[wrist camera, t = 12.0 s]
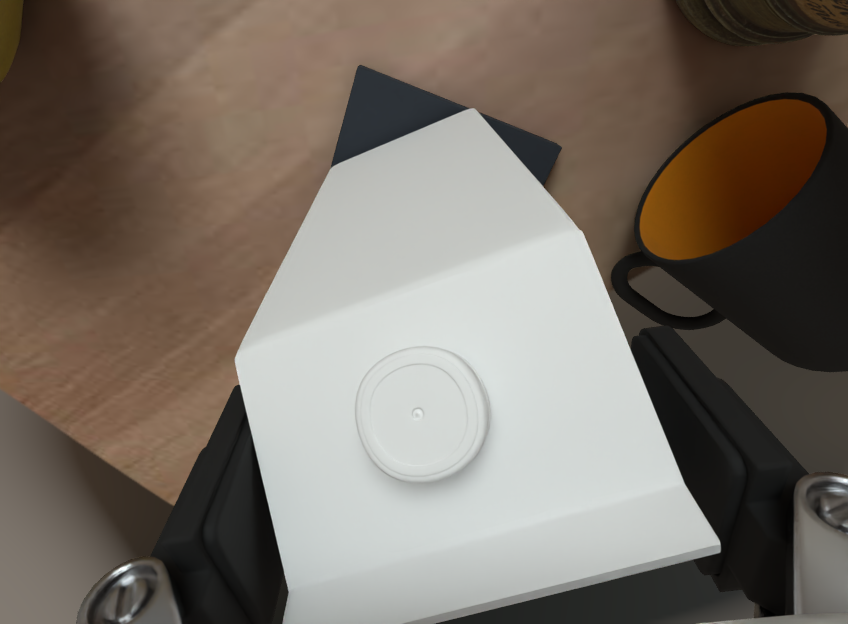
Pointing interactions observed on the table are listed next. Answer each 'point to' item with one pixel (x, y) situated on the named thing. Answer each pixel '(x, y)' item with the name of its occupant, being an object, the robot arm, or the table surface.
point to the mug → (756, 228)
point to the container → (766, 19)
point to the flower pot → (9, 32)
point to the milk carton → (452, 396)
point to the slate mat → (421, 121)
